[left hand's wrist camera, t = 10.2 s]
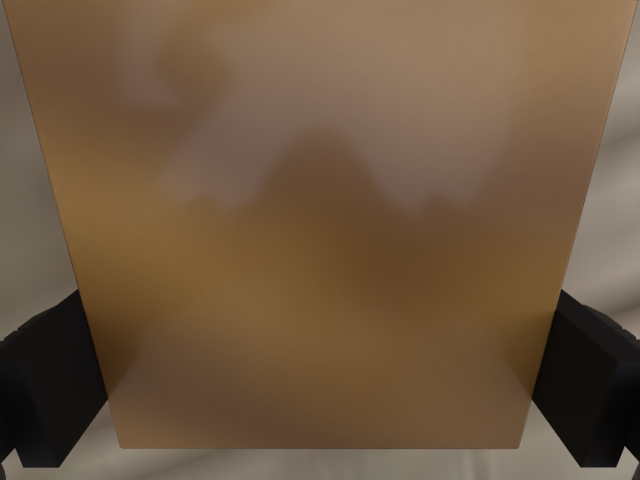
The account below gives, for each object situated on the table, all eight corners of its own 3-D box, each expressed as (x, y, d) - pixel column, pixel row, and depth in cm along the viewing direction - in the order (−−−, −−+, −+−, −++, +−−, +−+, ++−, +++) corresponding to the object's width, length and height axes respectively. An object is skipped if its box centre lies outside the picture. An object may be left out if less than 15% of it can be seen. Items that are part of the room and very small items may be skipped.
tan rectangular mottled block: (181, -106, 14) (-174, -643, 4) (458, -105, 14) (814, -639, 4) (221, 273, 20) (119, 450, 10) (418, 274, 20) (520, 451, 10)
